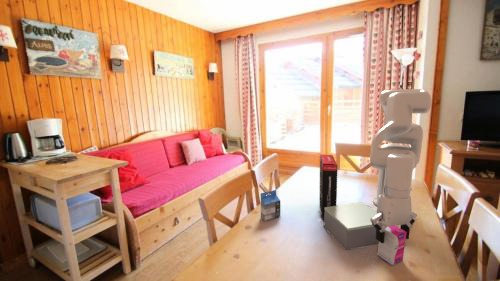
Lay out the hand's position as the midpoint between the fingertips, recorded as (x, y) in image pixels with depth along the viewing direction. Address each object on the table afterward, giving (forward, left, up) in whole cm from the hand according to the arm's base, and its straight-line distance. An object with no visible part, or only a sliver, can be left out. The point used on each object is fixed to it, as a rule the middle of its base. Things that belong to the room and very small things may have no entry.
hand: (392, 239), depth 81 cm
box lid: (+2, -16, 0) cm, 16 cm away
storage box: (+3, -16, -8) cm, 18 cm away
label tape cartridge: (+32, -38, -8) cm, 50 cm away
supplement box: (0, 0, -8) cm, 8 cm away
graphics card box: (+4, -36, -8) cm, 37 cm away
